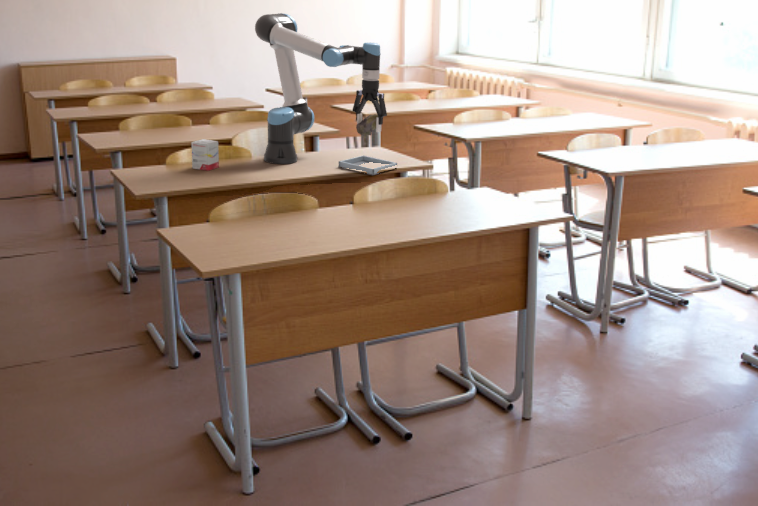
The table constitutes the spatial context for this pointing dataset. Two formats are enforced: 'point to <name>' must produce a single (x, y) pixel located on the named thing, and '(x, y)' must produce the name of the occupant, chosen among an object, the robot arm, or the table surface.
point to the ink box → (205, 154)
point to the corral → (355, 162)
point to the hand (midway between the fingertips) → (368, 130)
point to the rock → (367, 125)
